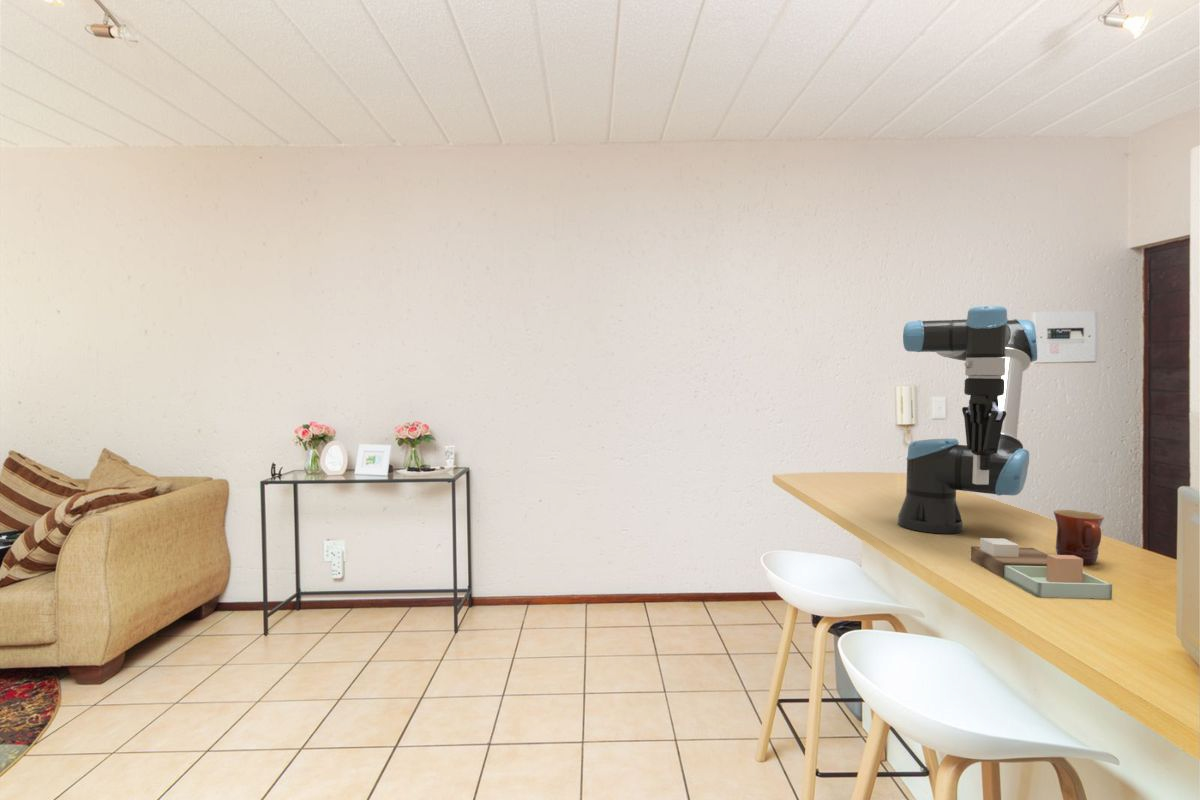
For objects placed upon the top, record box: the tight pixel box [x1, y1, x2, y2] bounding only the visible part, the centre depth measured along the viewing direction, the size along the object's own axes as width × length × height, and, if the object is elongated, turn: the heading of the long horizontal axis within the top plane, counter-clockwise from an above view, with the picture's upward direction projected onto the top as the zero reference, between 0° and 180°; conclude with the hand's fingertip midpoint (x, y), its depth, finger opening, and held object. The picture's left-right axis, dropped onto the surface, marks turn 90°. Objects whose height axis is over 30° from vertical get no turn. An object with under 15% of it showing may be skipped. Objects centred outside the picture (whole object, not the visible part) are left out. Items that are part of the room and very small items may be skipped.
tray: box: [1003, 565, 1113, 600], centre depth 121 cm, size 10×13×3 cm
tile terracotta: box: [1046, 554, 1084, 583], centre depth 122 cm, size 5×5×2 cm
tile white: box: [979, 537, 1020, 557], centre depth 133 cm, size 5×5×2 cm
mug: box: [1053, 509, 1105, 566], centre depth 137 cm, size 12×9×10 cm
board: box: [970, 546, 1049, 579], centre depth 132 cm, size 12×13×3 cm
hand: (980, 483), depth 141 cm, fingers closed
